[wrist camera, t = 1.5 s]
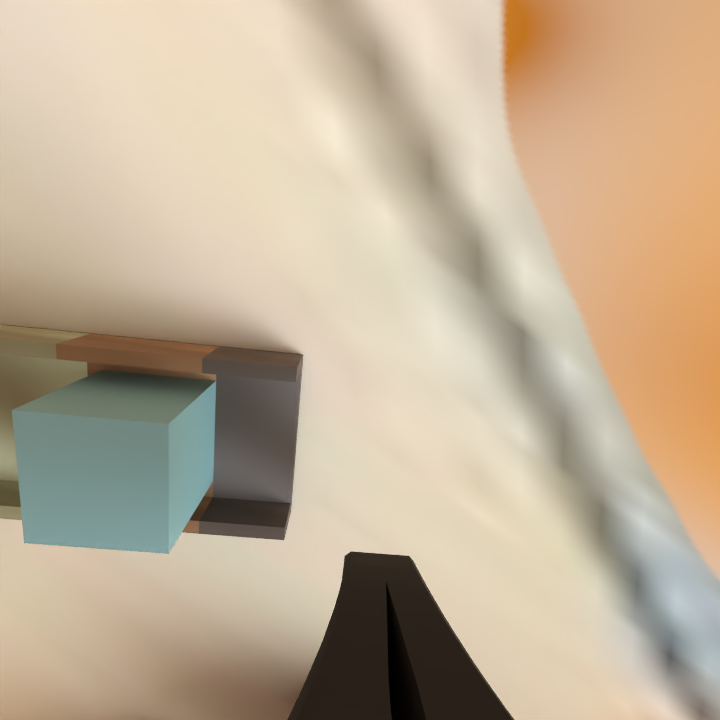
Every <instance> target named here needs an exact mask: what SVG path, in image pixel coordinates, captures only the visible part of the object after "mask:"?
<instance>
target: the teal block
mask: <svg viewBox="0 0 720 720" xmlns="http://www.w3.org/2000/svg"><path fill="white" fill-rule="evenodd" d="M215 401H216V381H214V380H203V379H193V378H182V377H172V376H161V375H151V374H140V373H130V372H119V371H109V370H100V371H98V372H96V373H94V374H91V375H89V376H87V377H85V378H82V379H80V380H78V381H76V382H73V383H71V384H69V385H67V386H64V387H62V388H60V389H58V390H55V391H53V392H51V393H49V394H46V395H44V396H42V397H40V398H37V399H35V400H33V401H31V402H28V403H26V404H24V405H22V406H20V407H17V408H15V409H13V410H12V418H13V429H14V439H15V450H16V460H17V471H18V481H19V492H20V502H21V513H22V523H23V534H24V543H32V544H45V545H59V546H72V547H86V548H99V549H113V550H126V551H140V552H154V553H167V554H169V552H170V551H171V549H172V547H173V546H174V544H175V542H176V541H177V539H178V537H179V536H180V534H181V533H182V531H183V529H184V528H185V526H186V524H187V523H188V521H189V520H190V518H191V516H192V515H193V513H194V511H195V510H196V508H197V507H198V505H199V503H200V502H201V500H202V498H203V497H204V495H205V493H206V492H207V490H208V489H209V487H210V485H211V484H212V482H213V473H214V437H215Z"/></svg>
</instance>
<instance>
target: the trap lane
mask: <svg viewBox="0 0 720 720" xmlns="http://www.w3.org/2000/svg"><path fill="white" fill-rule="evenodd" d="M302 363H303V355H300V354H290V353H280V352H270V351H260V350H250V349H240V348H230V347H220V346H210V345H200V344H190V343H180V342H170V341H160V340H150V339H140V338H130V337H120V336H110V335H100V334H90V333H80V332H70V331H60V330H50V329H40V328H30V327H19V326H9V325H0V518H3V519H16V520H22V513H21V502H20V492H19V481H18V471H17V460H16V450H15V439H14V429H13V418H12V410H13V409H15V408H17V407H20V406H22V405H24V404H26V403H28V402H31V401H33V400H35V399H37V398H40V397H42V396H44V395H46V394H49V393H51V392H53V391H55V390H58V389H60V388H62V387H64V386H67V385H69V384H71V383H73V382H76V381H78V380H80V379H82V378H85V377H87V376H89V375H91V374H94V373H96V372H98V371H100V370H109V371H119V372H130V373H140V374H151V375H161V376H172V377H182V378H193V379H203V380H214V381H216V401H215V437H214V473H213V482H212V484H211V485H210V487H209V489H208V490H207V492H206V493H205V495H204V497H203V498H202V500H201V502H200V503H199V505H198V507H197V508H196V510H195V511H194V513H193V515H192V516H191V518H190V520H189V521H188V523H187V524H186V526H185V528H184V529H183V531H182V532H186V533H199V534H212V535H225V536H238V537H251V538H264V539H277V540H284V538H285V534H286V529H287V525H288V521H289V517H290V512H291V503H292V491H293V478H294V465H295V453H296V440H297V427H298V414H299V402H300V389H301V376H302Z"/></svg>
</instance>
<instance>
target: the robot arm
mask: <svg viewBox="0 0 720 720" xmlns="http://www.w3.org/2000/svg"><path fill="white" fill-rule="evenodd" d="M288 720H514V719H513V717H512V716H511V715H510V713H509V712H508V711H507V709H506V708H505V707H504V705H503V704H502V702H501V701H500V699H499V698H498V697H497V695H496V694H495V692H494V691H493V690H492V688H491V687H490V685H489V684H488V683H487V681H486V680H485V678H484V677H483V675H482V674H481V672H480V671H479V669H478V668H477V667H476V665H475V664H474V662H473V661H472V659H471V658H470V656H469V654H468V653H467V651H466V650H465V648H464V647H463V645H462V644H461V642H460V640H459V639H458V637H457V636H456V634H455V633H454V631H453V630H452V628H451V626H450V625H449V623H448V621H447V620H446V618H445V617H444V615H443V613H442V612H441V610H440V608H439V606H438V605H437V603H436V601H435V600H434V598H433V596H432V595H431V593H430V591H429V589H428V587H427V586H426V584H425V582H424V580H423V578H422V577H421V575H420V573H419V571H418V569H417V567H416V565H415V563H414V561H413V560H412V559H411V558H410V557H409V556H402V555H389V554H375V553H362V552H350V553H348V554H347V555H346V556H345V559H344V568H343V576H342V583H341V587H340V591H339V594H338V598H337V601H336V605H335V608H334V610H333V613H332V616H331V619H330V622H329V625H328V627H327V630H326V633H325V636H324V639H323V641H322V644H321V646H320V649H319V651H318V653H317V656H316V658H315V660H314V663H313V665H312V667H311V670H310V672H309V674H308V677H307V679H306V681H305V684H304V686H303V688H302V691H301V693H300V695H299V697H298V699H297V701H296V703H295V706H294V708H293V710H292V712H291V714H290V716H289V718H288Z"/></svg>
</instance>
